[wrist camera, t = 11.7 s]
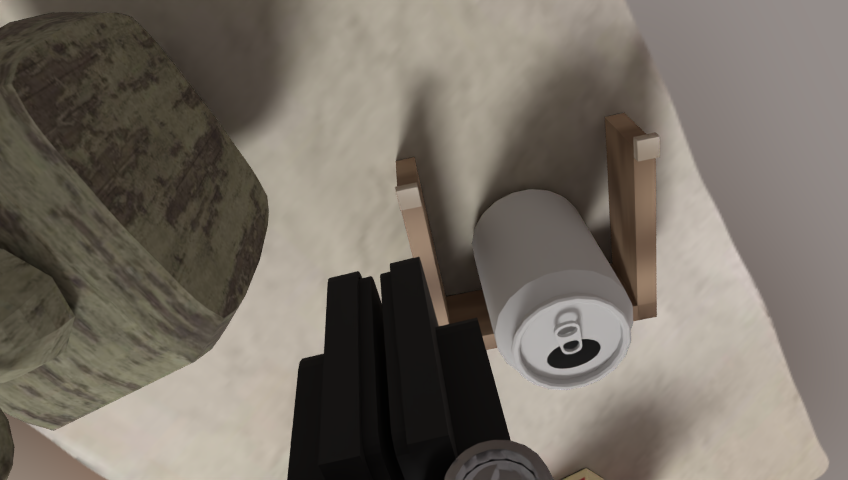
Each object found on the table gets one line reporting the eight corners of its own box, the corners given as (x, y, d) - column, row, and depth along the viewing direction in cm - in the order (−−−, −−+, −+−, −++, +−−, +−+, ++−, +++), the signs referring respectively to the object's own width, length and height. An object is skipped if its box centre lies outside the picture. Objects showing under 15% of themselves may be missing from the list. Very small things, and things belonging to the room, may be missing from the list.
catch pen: (393, 152, 38) (395, 191, 34) (623, 103, 38) (659, 136, 33) (432, 313, 45) (438, 365, 40) (629, 273, 44) (660, 322, 39)
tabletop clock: (10, 49, 34) (-630, 345, 12) (140, -36, 32) (-339, 136, 11) (182, 245, 41) (-38, 655, 19) (297, 183, 39) (198, 557, 18)
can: (488, 292, 44) (522, 418, 34) (455, 206, 41) (481, 317, 30) (590, 258, 43) (656, 377, 33) (565, 167, 40) (631, 268, 29)
